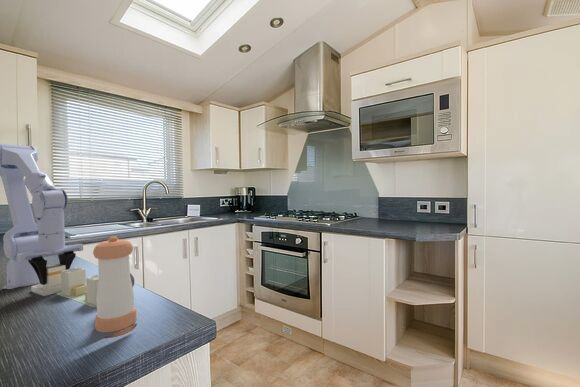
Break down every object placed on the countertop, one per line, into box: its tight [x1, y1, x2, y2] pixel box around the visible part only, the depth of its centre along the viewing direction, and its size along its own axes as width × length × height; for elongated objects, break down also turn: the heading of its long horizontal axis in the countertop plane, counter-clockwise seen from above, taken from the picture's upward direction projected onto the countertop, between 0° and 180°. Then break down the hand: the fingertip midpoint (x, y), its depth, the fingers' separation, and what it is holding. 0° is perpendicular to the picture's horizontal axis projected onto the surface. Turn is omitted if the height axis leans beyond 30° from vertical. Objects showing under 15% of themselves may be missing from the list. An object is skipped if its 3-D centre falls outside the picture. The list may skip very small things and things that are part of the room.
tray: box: [30, 283, 62, 297], centre depth 81 cm, size 8×8×3 cm
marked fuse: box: [42, 263, 66, 290], centre depth 81 cm, size 4×4×6 cm
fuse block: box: [55, 284, 97, 308], centre depth 75 cm, size 19×6×3 cm, turn 60°
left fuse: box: [61, 266, 87, 296], centre depth 79 cm, size 4×4×6 cm
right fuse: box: [86, 274, 99, 305], centre depth 72 cm, size 4×4×6 cm
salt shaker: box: [92, 235, 138, 339], centre depth 60 cm, size 7×7×19 cm
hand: (53, 281), depth 81 cm, fingers open, 4 cm apart
